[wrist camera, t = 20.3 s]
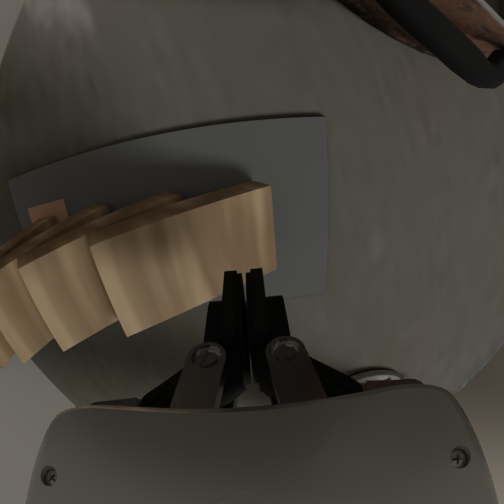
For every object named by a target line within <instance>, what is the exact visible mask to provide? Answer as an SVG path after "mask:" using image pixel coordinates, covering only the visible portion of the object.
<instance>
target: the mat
mask: <svg viewBox="0 0 504 504" xmlns="http://www.w3.org/2000/svg"><path fill="white" fill-rule="evenodd" d="M252 180H253V181H257V182H260V183H264V184H267V185H271V193H272V205H273V218H274V232H275V246H276V261H277V269H276V270H274V271H272V272H269V273H267V274H265V275H263V278H264V286H265V295H266V297H268V296H278V295H283V298H290V297H299V296H307V295H316V294H323V293H326V287H327V266H328V233H329V172H328V140H327V120H326V117H325V116H320V117H291V118H275V119H262V120H251V121H241V122H232V123H224V124H216V125H209V126H202V127H196V128H190V129H184V130H178V131H172V132H167V133H162V134H157V135H152V136H148V137H143V138H139V139H134V140H130V141H126V142H122V143H118V144H114V145H110V146H106V147H103V148H99V149H95V150H92V151H88V152H85V153H82V154H78V155H75V156H72V157H69V158H66V159H63V160H60V161H57V162H54V163H51V164H48V165H45V166H43V167H40V168H37V169H34V170H32V171H29V172H27V173H24V174H22V175H19V176H17V177H14V178H12V179H10V180H8V181H7V182H8V186H9V190H10V193H11V197H12V200H13V204H14V207H15V210H16V213H17V216H18V219H19V222H20V225H21V228H22V230H24V229H25V228H26V227H28V226H29V225H31V224H32V223H34V222H35V221H36V220H38V219H39V218H43V217H49V216H54V218H55V221H56V224H58V223H60V222H61V221H63V220H65V219H67V218H69V217H71V216H72V215H74V214H76V213H78V212H80V211H82V210H84V209H86V208H88V207H89V206H91V205H93V204H97V205H108V208H109V212H110V213H112V212H115V211H117V210H119V209H122V208H124V207H127V206H129V205H132V204H134V203H137V202H139V201H142V200H144V199H147V198H149V197H152V196H155V195H157V194H160V193H163V192H165V191H166V192H170V193H175V194H179V195H181V199H182V201H183V200H186V199H190V198H193V197H196V196H199V195H203V194H206V193H209V192H213V191H216V190H220V189H223V188H226V187H230V186H234V185H237V184H241V183H244V182H248V181H252ZM244 293H245V300H246V284H244ZM210 301H222V295H220V296H218V297H216V298H214V299H212V300H210ZM210 301H207V302H205V303H203V304H201V305H199V306H206V305H209V302H210Z"/></svg>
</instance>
